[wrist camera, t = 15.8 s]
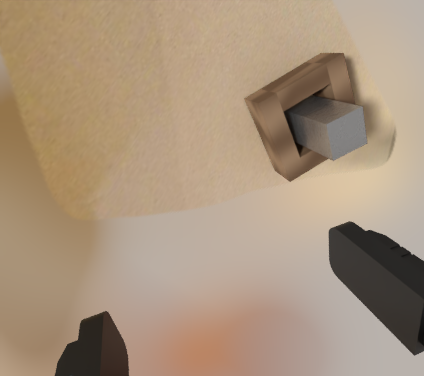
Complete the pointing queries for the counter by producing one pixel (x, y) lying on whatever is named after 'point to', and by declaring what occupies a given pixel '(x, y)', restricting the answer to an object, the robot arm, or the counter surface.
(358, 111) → the grey square pillar
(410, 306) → the robot arm
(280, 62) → the counter surface
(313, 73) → the well block
